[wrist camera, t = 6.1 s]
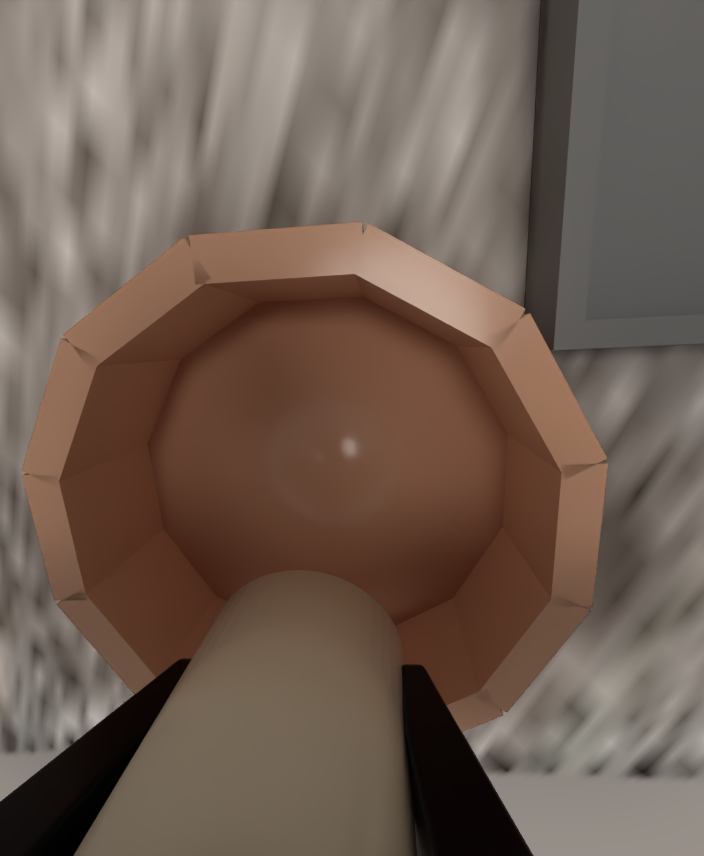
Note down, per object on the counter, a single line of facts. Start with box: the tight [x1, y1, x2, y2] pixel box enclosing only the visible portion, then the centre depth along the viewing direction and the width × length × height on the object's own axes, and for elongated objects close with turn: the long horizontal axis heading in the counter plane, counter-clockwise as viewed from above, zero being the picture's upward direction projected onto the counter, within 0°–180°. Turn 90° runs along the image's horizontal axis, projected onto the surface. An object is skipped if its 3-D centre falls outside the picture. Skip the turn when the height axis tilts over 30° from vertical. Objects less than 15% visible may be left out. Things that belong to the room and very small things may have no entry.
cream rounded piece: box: [74, 570, 417, 856], centre depth 5 cm, size 4×4×4 cm
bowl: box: [22, 222, 608, 732], centre depth 9 cm, size 12×12×4 cm
